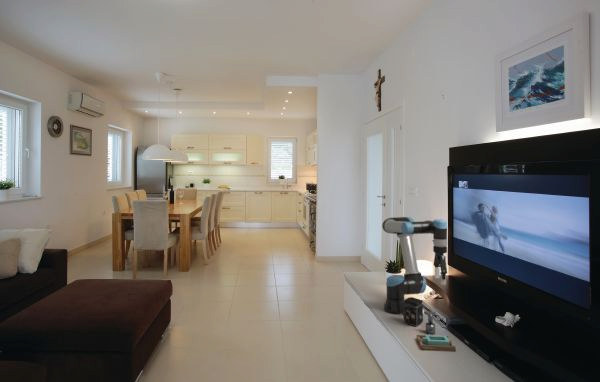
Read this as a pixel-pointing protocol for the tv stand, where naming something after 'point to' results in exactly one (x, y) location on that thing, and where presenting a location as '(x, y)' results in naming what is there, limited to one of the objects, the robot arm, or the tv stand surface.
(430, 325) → the mallet
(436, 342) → the teal rectangular frame
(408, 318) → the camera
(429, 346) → the tray
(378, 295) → the tv stand surface
